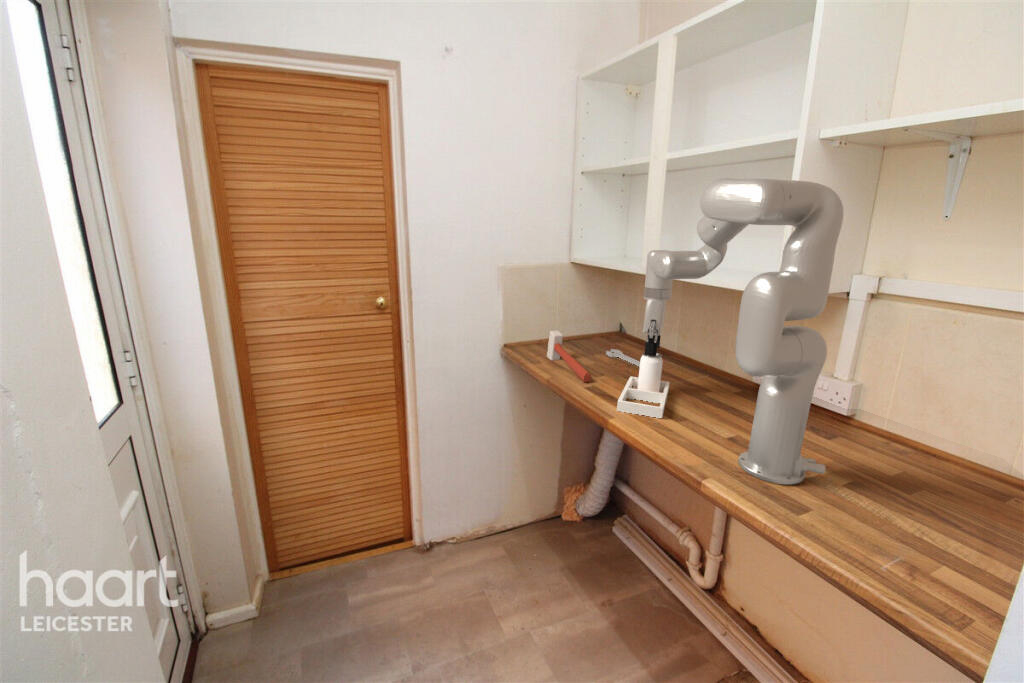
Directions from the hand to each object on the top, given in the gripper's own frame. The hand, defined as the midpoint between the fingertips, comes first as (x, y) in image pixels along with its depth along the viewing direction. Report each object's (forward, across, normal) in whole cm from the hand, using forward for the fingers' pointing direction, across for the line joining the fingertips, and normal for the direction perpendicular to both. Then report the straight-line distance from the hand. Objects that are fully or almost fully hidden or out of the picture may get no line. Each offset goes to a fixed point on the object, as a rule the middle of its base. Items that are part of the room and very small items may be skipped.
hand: (652, 351), depth 138 cm
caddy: (+14, +5, 0) cm, 15 cm away
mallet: (+14, -14, -29) cm, 35 cm away
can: (+14, -2, 0) cm, 14 cm away
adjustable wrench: (+14, -33, -11) cm, 37 cm away
